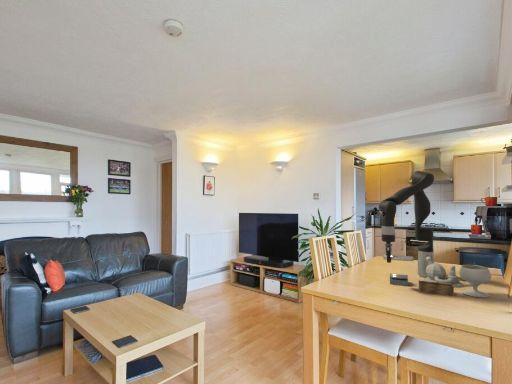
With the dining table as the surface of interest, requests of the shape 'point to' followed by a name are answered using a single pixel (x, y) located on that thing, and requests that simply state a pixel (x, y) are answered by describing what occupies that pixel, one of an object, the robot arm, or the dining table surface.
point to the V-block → (399, 279)
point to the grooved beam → (436, 288)
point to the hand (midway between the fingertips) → (389, 261)
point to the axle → (399, 258)
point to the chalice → (475, 278)
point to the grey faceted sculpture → (441, 274)
